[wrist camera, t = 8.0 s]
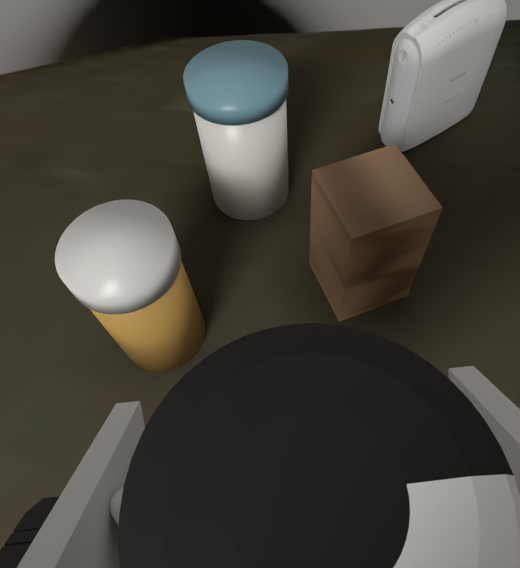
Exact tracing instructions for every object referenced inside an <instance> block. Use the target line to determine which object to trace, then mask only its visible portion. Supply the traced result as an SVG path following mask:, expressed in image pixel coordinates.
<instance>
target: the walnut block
mask: <svg viewBox="0 0 520 568" xmlns="http://www.w3.org/2000/svg"><path fill="white" fill-rule="evenodd" d="M442 208H443V207H442V206H441V205H440V203H439V202H438V201H437V199H436V198H435V197H434V195H433V194H432V193H431V191H430V190H429V189H428V187H427V186H426V184H425V183H424V182H423V180H422V179H421V178H420V176H419V175H418V174H417V172H416V171H415V170H414V168H413V167H412V166H411V164H410V163H409V162H408V160H407V159H406V158H405V156H404V155H403V154H402V152H401V151H400V150H399V148H398V147H397V146H396V144H392V145H389V146H386V147H383V148H380V149H377V150H374V151H370V152H367V153H364V154H361V155H358V156H355V157H352V158H349V159H346V160H343V161H339V162H336V163H333V164H330V165H327V166H324V167H321V168H318V169H315V170H312V185H311V218H310V250H309V264H310V266H311V268H312V270H313V272H314V274H315V276H316V277H317V279H318V281H319V283H320V285H321V287H322V289H323V291H324V293H325V295H326V297H327V299H328V301H329V303H330V305H331V307H332V309H333V311H334V313H335V315H336V317H337V319H338V321H342V320H345V319H348V318H350V317H353V316H356V315H359V314H361V313H364V312H367V311H370V310H372V309H375V308H378V307H381V306H383V305H386V304H389V303H392V302H394V301H397V300H400V299H403V298H405V297H408V294H409V292H410V289H411V287H412V284H413V282H414V279H415V277H416V274H417V271H418V269H419V266H420V264H421V261H422V259H423V256H424V254H425V251H426V249H427V246H428V244H429V241H430V239H431V236H432V234H433V231H434V229H435V226H436V224H437V221H438V219H439V216H440V214H441V211H442Z"/></svg>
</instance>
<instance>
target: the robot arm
mask: <svg viewBox="0 0 520 568" xmlns="http://www.w3.org/2000/svg"><path fill="white" fill-rule="evenodd" d="M449 379H450V380H451V381H452V382H453V383H454V384H455V385H456V386H457V387H458V388H459V389H460V390H461V391H462V392H463V394H464V395H465V396H466V397H467V398H468V399H469V400H470V401H471V403H472V404H473V405H474V406H475V408H476V409H477V410H478V412H479V413H480V414H481V416H482V417H483V418H484V420H485V421H486V422H487V424H488V426H489V427H490V429H491V431H492V432H493V434H494V436H495V437H496V439H497V441H498V442H499V444H500V446H501V448H502V450H503V452H504V454H505V457H506V459H507V461H508V463H509V466H510V468H511V470H512V472H513V475H514V477H515V481H516V484H517V487H518V491H519V494H520V409H519V408H518V407H517V406H516V405H515V404H513V403H512V402H511V401H510V400H509V399H508V398H507V397H506V396H505V395H504V394H503V393H502V392H501V391H500V390H498V389H497V388H496V387H495V386H494V385H493V384H492V383H491V382H490V381H489V380H488V379H487V378H486V377H484V376H483V375H482V374H481V373H480V372H479V371H478V370H477V369H476V368H475V367H474V366H468V367H459V368H449ZM144 429H145V425H144V420H143V415H142V410H141V404H140V401H136V402H127V403H117V404H116V405H115V406H114V408H113V410H112V411H111V413H110V415H109V416H108V418H107V420H106V421H105V423H104V424H103V426H102V428H101V429H100V431H99V433H98V434H97V436H96V438H95V439H94V441H93V443H92V444H91V446H90V448H89V449H88V451H87V453H86V454H85V456H84V457H83V459H82V461H81V462H80V464H79V466H78V467H77V469H76V471H75V472H74V474H73V476H72V477H71V479H70V481H69V482H68V484H67V486H66V487H65V489H64V490H63V492H62V494H61V495H60V497H51V498H43V499H41V500H40V501H39V502H38V503H37V504H36V505H34V506H33V507H32V508H31V509H30V510H29V511H27V512H26V513H25V515H24V516H23V517H22V519H21V520H20V522H19V523H18V525H17V526H16V528H15V529H14V533H12V534H11V535H10V537H9V538H8V540H7V541H6V543H5V546H4V547H2V549H1V550H0V568H120V563H119V552H118V531H119V527H118V525H117V523H116V522H115V520H114V518H113V516H112V514H111V511H110V507H109V506H110V501H111V498H112V497H113V496H114V494H115V493H116V492H117V491H118V490H120V489H121V488H122V487H123V486H124V483H125V479H126V476H127V472H128V469H129V465H130V462H131V458H132V456H133V454H134V451H135V449H136V446H137V444H138V442H139V439H140V437H141V435H142V432H143V431H144Z"/></svg>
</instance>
